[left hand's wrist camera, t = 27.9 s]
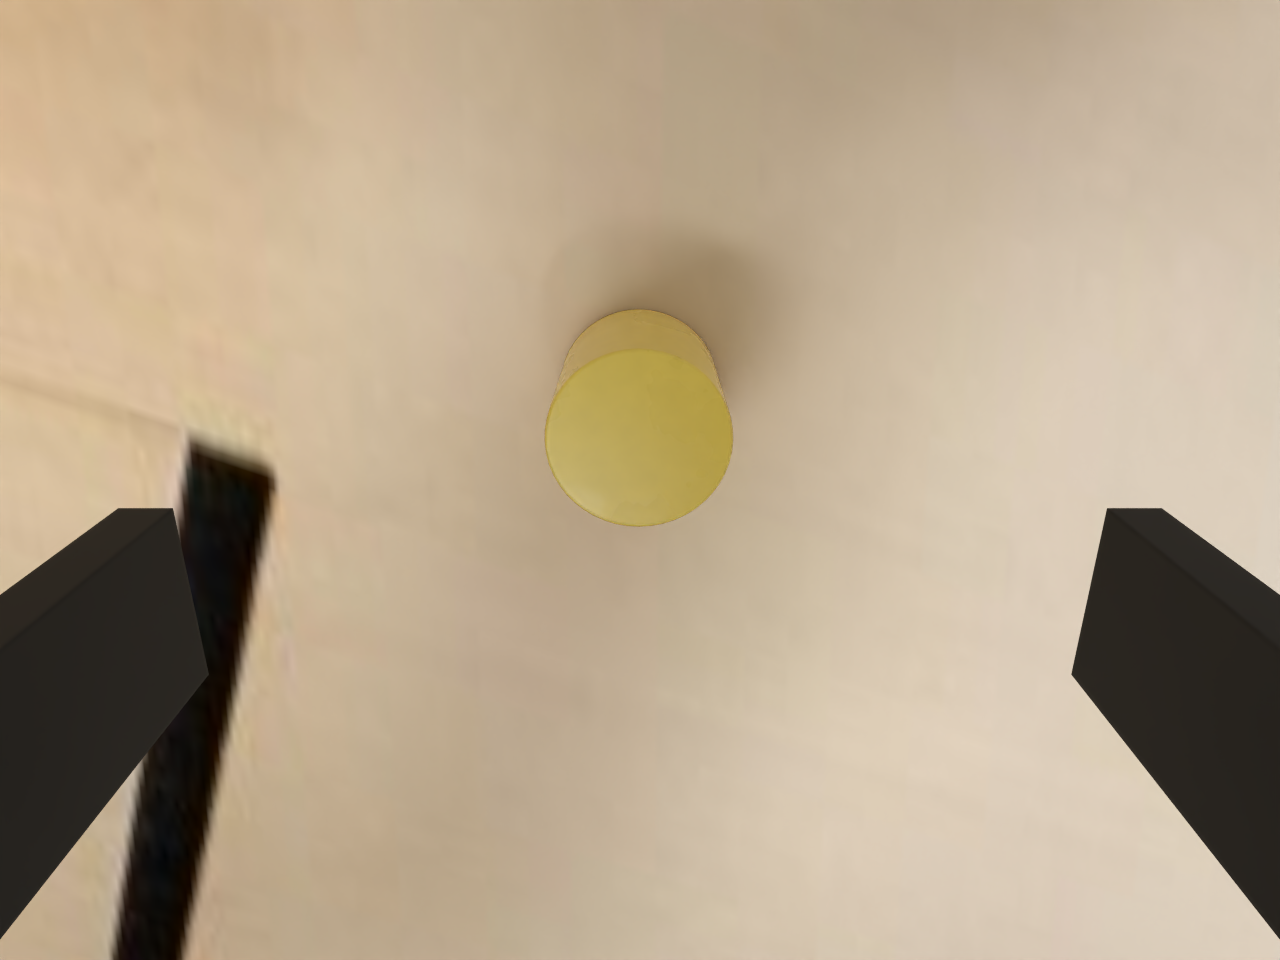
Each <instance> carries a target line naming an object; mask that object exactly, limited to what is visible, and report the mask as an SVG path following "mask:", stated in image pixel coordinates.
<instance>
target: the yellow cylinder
mask: <svg viewBox="0 0 1280 960" xmlns="http://www.w3.org/2000/svg"><path fill="white" fill-rule="evenodd" d="M732 446H733V428H732V422H731V417H730V413H729V410H728V407H727V404H726V400H725V397H724V394H723V391H722V388H721V384H720V381H719V378H718V375H717V372H716V368H715V365H714V362H713V359H712V357H711V355H710V352H709V350H708V348H707V347H706V345H705V344H704V342H703V341H702V340H701V338H700V337H699V336H698V335H697V334H696V333H695V332H694V331H693V330H692V329H691V328H690V327H688V326H687V325H686V324H684V323H683V322H681V321H680V320H678V319H676V318H674V317H672V316H670V315H667V314H664V313H661V312H657V311H652V310H640V309H637V310H626V311H621V312H617V313H614V314H611V315H608V316H606V317H604V318H602V319H600V320H598V321H597V322H595V323H594V324H592V325H591V326H589V327H588V328H587V329H586V330H585V331H584V332H583V333H582V334H581V335H580V336H579V337H578V338H577V340H576V341H575V342H574V344H573V345H572V347H571V349H570V350H569V352H568V355H567V357H566V359H565V362H564V365H563V368H562V372H561V375H560V378H559V381H558V384H557V387H556V390H555V393H554V397H553V400H552V403H551V406H550V409H549V412H548V416H547V420H546V426H545V448H546V455H547V459H548V462H549V466H550V468H551V470H552V473H553V475H554V477H555V479H556V480H557V482H558V484H559V485H560V487H561V488H562V489H563V491H564V492H565V493H566V494H567V495H568V496H569V497H570V498H571V499H572V500H573V501H574V502H575V503H576V504H577V505H578V506H580V507H581V508H582V509H584V510H585V511H587V512H589V513H590V514H592V515H594V516H596V517H598V518H600V519H603V520H605V521H608V522H612V523H615V524H620V525H625V526H639V527H640V526H653V525H658V524H663V523H666V522H669V521H673V520H675V519H677V518H680V517H682V516H684V515H686V514H688V513H689V512H691V511H692V510H694V509H696V508H697V507H698V506H699V505H701V504H702V503H703V502H704V501H705V500H706V499H707V498H708V497H709V496H710V495H711V494H712V493H713V492H714V490H715V489H716V488H717V486H718V485H719V483H720V482H721V480H722V478H723V476H724V474H725V472H726V470H727V467H728V465H729V462H730V457H731V453H732Z"/></svg>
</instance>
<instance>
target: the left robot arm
mask: <svg viewBox="0 0 1280 960" xmlns="http://www.w3.org/2000/svg"><path fill="white" fill-rule="evenodd" d="M208 675H209V674H208V669H207V665H206V660H205V655H204V651H203V646H202V642H201V637H200V632H199V628H198V623H197V618H196V614H195V609H194V604H193V600H192V595H191V590H190V586H189V581H188V576H187V572H186V567H185V563H184V558H183V553H182V549H181V544H180V539H179V535H178V530H177V525H176V521H175V516H174V511H173V508H118V509H117V510H115V511H114V512H113V513H111V514H110V515H109V516H107V517H106V518H105V519H103V520H102V521H100V522H99V523H98V524H96V525H95V526H94V527H92V528H91V529H89V530H88V531H87V532H85V533H84V534H83V535H81V536H80V537H79V538H77V539H76V540H74V541H73V542H72V543H70V544H69V545H68V546H66V547H65V548H64V549H62V550H61V551H59V552H58V553H57V554H55V555H54V556H53V557H51V558H50V559H49V560H47V561H46V562H44V563H43V564H42V565H40V566H39V567H38V568H36V569H35V570H34V571H32V572H31V573H29V574H28V575H27V576H25V577H24V578H23V579H21V580H20V581H19V582H17V583H16V584H14V585H13V586H12V587H10V588H9V589H8V590H6V591H5V592H4V593H2V594H1V595H0V939H1V938H2V936H3V935H4V934H5V933H6V931H7V930H8V929H9V927H10V926H11V925H12V924H13V922H14V921H15V920H16V919H17V917H18V916H19V915H20V913H21V912H22V911H23V910H24V908H25V907H26V906H27V905H28V903H29V902H30V901H31V899H32V898H33V897H34V896H35V894H36V893H37V892H38V891H39V889H40V888H41V887H42V885H43V884H44V883H45V882H46V880H47V879H48V878H49V877H50V875H51V874H52V873H53V872H54V870H55V869H56V868H57V866H58V865H59V864H60V863H61V861H62V860H63V859H64V858H65V856H66V855H67V854H68V852H69V851H70V850H71V849H72V847H73V846H74V845H75V844H76V842H77V841H78V840H79V838H80V837H81V836H82V835H83V833H84V832H85V831H86V830H87V828H88V827H89V826H90V824H91V823H92V822H93V821H94V819H95V818H96V817H97V816H98V814H99V813H100V812H101V811H102V809H103V808H104V807H105V805H106V804H107V803H108V802H109V800H110V799H111V798H112V797H113V795H114V794H115V793H116V791H117V790H118V789H119V788H120V786H121V785H122V784H123V783H124V781H125V780H126V779H127V777H128V776H129V775H130V774H131V772H132V771H133V770H134V769H135V767H136V766H137V765H138V763H139V762H140V761H141V760H142V758H143V757H144V756H145V755H146V753H147V752H148V751H149V750H150V748H151V747H152V746H153V744H154V743H155V742H156V741H157V739H158V738H159V737H160V736H161V734H162V733H163V732H164V730H165V729H166V728H167V727H168V725H169V724H170V723H171V722H172V720H173V719H174V718H175V716H176V715H177V714H178V713H179V711H180V710H181V709H182V708H183V706H184V705H185V704H186V702H187V701H188V700H189V699H190V697H191V696H192V695H193V694H194V692H195V691H196V690H197V689H198V687H199V686H200V685H201V683H202V682H203V681H204V680H205V678H206V677H207V676H208ZM1071 675H1072V676H1073V677H1074V678H1075V680H1076V681H1077V682H1078V683H1079V685H1080V686H1081V687H1082V689H1083V690H1084V691H1085V692H1086V694H1087V695H1088V696H1089V697H1090V699H1091V700H1092V701H1093V702H1094V704H1095V705H1096V706H1097V708H1098V709H1099V710H1100V711H1101V713H1102V714H1103V715H1104V716H1105V718H1106V719H1107V720H1108V722H1109V723H1110V724H1111V725H1112V727H1113V728H1114V729H1115V730H1116V732H1117V733H1118V734H1119V736H1120V737H1121V738H1122V739H1123V741H1124V742H1125V743H1126V744H1127V746H1128V747H1129V748H1130V750H1131V751H1132V752H1133V753H1134V755H1135V756H1136V757H1137V758H1138V760H1139V761H1140V762H1141V763H1142V765H1143V766H1144V767H1145V769H1146V770H1147V771H1148V772H1149V774H1150V775H1151V776H1152V777H1153V779H1154V780H1155V781H1156V783H1157V784H1158V785H1159V786H1160V788H1161V789H1162V790H1163V791H1164V793H1165V794H1166V795H1167V797H1168V798H1169V799H1170V800H1171V802H1172V803H1173V804H1174V805H1175V807H1176V808H1177V809H1178V811H1179V812H1180V813H1181V814H1182V816H1183V817H1184V818H1185V819H1186V821H1187V822H1188V823H1189V824H1190V826H1191V827H1192V828H1193V830H1194V831H1195V832H1196V833H1197V835H1198V836H1199V837H1200V838H1201V840H1202V841H1203V842H1204V844H1205V845H1206V846H1207V847H1208V849H1209V850H1210V851H1211V852H1212V854H1213V855H1214V856H1215V858H1216V859H1217V860H1218V861H1219V863H1220V864H1221V865H1222V866H1223V868H1224V869H1225V870H1226V872H1227V873H1228V874H1229V875H1230V877H1231V878H1232V879H1233V880H1234V882H1235V883H1236V884H1237V885H1238V887H1239V888H1240V889H1241V891H1242V892H1243V893H1244V894H1245V896H1246V897H1247V898H1248V899H1249V901H1250V902H1251V903H1252V905H1253V906H1254V907H1255V908H1256V910H1257V911H1258V912H1259V913H1260V915H1261V916H1262V917H1263V919H1264V920H1265V921H1266V922H1267V924H1268V925H1269V926H1270V927H1271V929H1272V930H1273V931H1274V933H1275V934H1276V935H1277V936H1278V938H1279V939H1280V595H1279V594H1278V593H1276V592H1275V591H1274V590H1272V589H1271V588H1270V587H1268V586H1267V585H1266V584H1264V583H1263V582H1261V581H1260V580H1259V579H1257V578H1256V577H1255V576H1253V575H1252V574H1251V573H1249V572H1248V571H1246V570H1245V569H1244V568H1242V567H1241V566H1240V565H1238V564H1237V563H1236V562H1234V561H1233V560H1231V559H1230V558H1229V557H1227V556H1226V555H1225V554H1223V553H1222V552H1221V551H1219V550H1218V549H1216V548H1215V547H1214V546H1212V545H1211V544H1210V543H1208V542H1207V541H1206V540H1204V539H1203V538H1201V537H1200V536H1199V535H1197V534H1196V533H1195V532H1193V531H1192V530H1191V529H1189V528H1188V527H1186V526H1185V525H1184V524H1182V523H1181V522H1180V521H1178V520H1177V519H1175V518H1174V517H1173V516H1171V515H1170V514H1169V513H1167V512H1166V511H1165V510H1163V509H1162V508H1107V511H1106V516H1105V521H1104V525H1103V530H1102V535H1101V539H1100V544H1099V549H1098V553H1097V558H1096V563H1095V567H1094V572H1093V576H1092V581H1091V586H1090V590H1089V595H1088V600H1087V604H1086V609H1085V614H1084V618H1083V623H1082V628H1081V632H1080V637H1079V642H1078V646H1077V651H1076V655H1075V660H1074V665H1073V669H1072V674H1071Z"/></svg>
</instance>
